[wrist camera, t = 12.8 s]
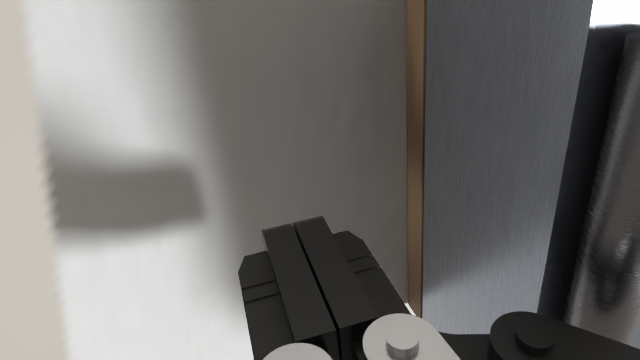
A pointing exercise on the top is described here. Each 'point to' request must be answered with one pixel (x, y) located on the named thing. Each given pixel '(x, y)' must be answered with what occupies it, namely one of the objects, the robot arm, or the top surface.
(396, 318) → the robot arm
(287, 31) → the top surface
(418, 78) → the vise base
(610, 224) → the box
